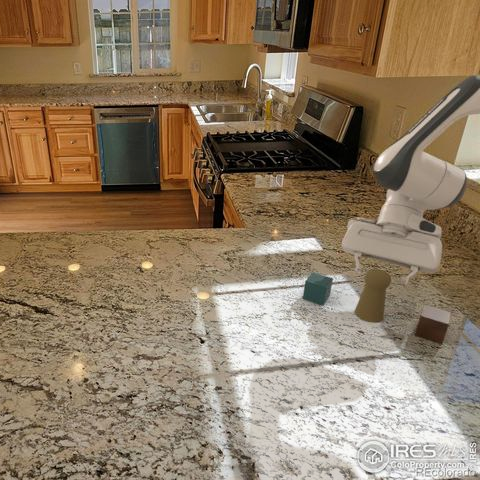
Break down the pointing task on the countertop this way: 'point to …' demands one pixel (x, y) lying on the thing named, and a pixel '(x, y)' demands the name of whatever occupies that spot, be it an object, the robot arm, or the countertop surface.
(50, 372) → the countertop surface
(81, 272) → the countertop surface
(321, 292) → the block teal
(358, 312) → the cork
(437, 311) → the block walnut
